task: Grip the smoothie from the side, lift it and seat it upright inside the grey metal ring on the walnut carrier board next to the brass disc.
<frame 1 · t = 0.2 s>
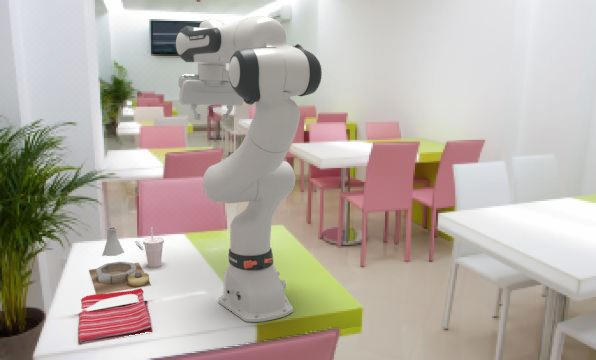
hand: (212, 119, 161), 47 cm above the table, tool pointing down, fingers open, 8 cm apart
dish towel: (115, 319, 131), on the table
carrier board: (119, 281, 153), on the table
socket ring: (116, 276, 153), resting on carrier board
fork: (141, 249, 182), on the table
smoothie: (154, 269, 163), on the table
flask: (113, 256, 174), on the table
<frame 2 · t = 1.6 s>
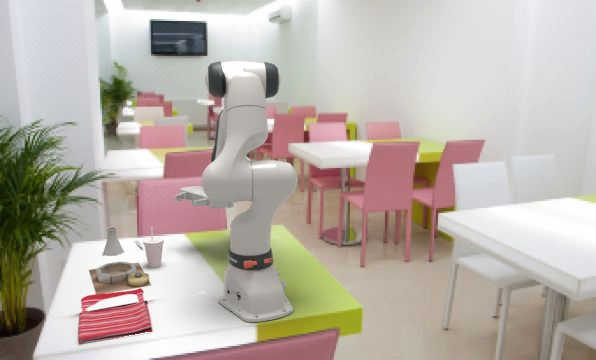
hand: (184, 200, 168), 20 cm above the table, tool horizontal, fingers open, 8 cm apart
nothing on the table moved.
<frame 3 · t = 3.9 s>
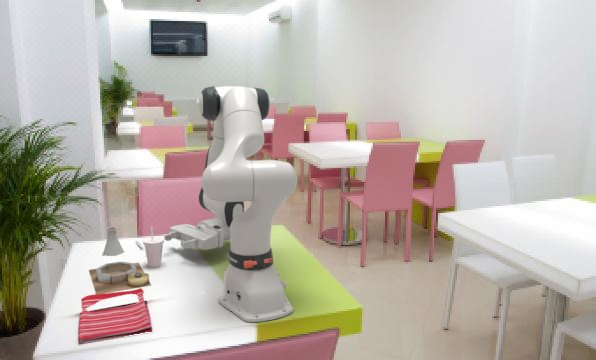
hand: (173, 241, 167), 7 cm above the table, tool horizontal, fingers open, 8 cm apart
nothing on the table moved.
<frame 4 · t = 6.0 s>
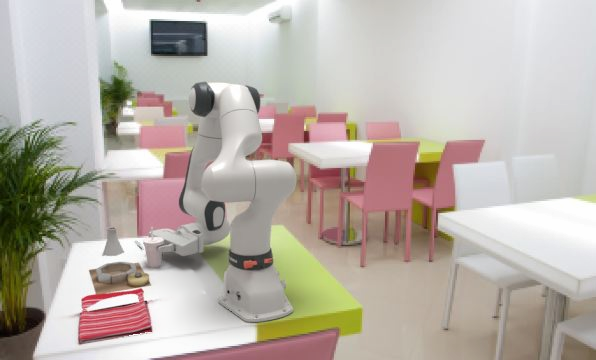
hand: (151, 246, 161), 8 cm above the table, tool horizontal, fingers closed on smoothie, 6 cm apart
smoothie: (154, 269, 163), on the table, touching gripper
everything else where it was.
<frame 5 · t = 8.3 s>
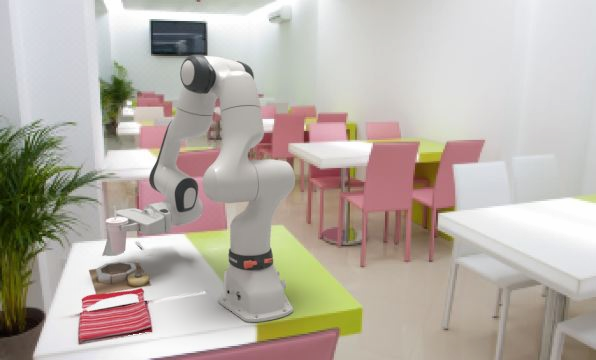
hand: (114, 226, 150), 17 cm above the table, tool horizontal, fingers closed on smoothie, 6 cm apart
smoothie: (118, 251, 153), point 9 cm above the table, touching gripper
everything else where it was.
when the fingers open (10 cm above the table, at t = 10.6 s): smoothie moves 2 cm, resting on carrier board.
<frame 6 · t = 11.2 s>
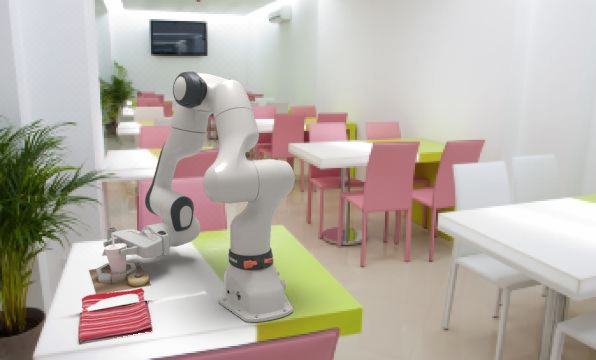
hand: (112, 248, 151), 10 cm above the table, tool horizontal, fingers open, 8 cm apart
smoothie: (120, 278, 152), point 1 cm above the table, touching carrier board, gripper
everything else where it was.
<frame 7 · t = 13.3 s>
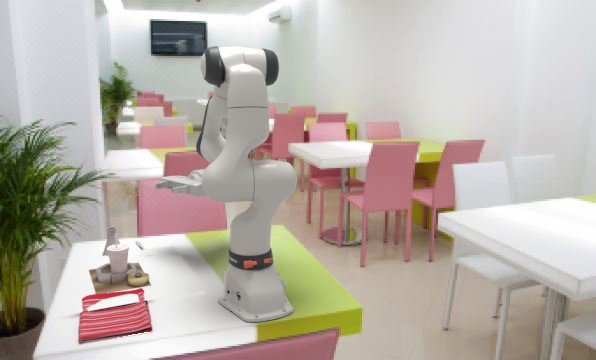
hand: (164, 188, 160), 26 cm above the table, tool horizontal, fingers open, 8 cm apart
smoothie: (119, 278, 152), point 1 cm above the table, touching carrier board
everything else where it was.
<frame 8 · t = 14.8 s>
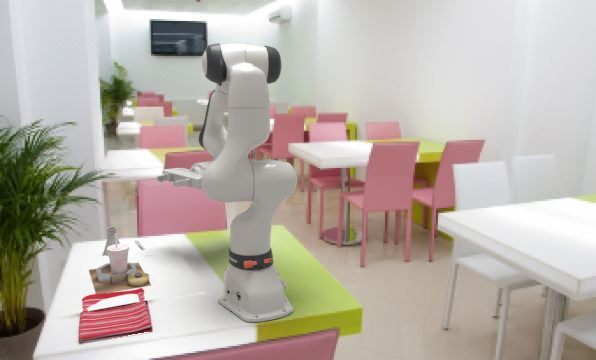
hand: (166, 181, 161), 28 cm above the table, tool horizontal, fingers open, 8 cm apart
nothing on the table moved.
at the end: smoothie 1.7 cm from the socket ring (horizontally); smoothie tilted 0°; smoothie touching carrier board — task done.
